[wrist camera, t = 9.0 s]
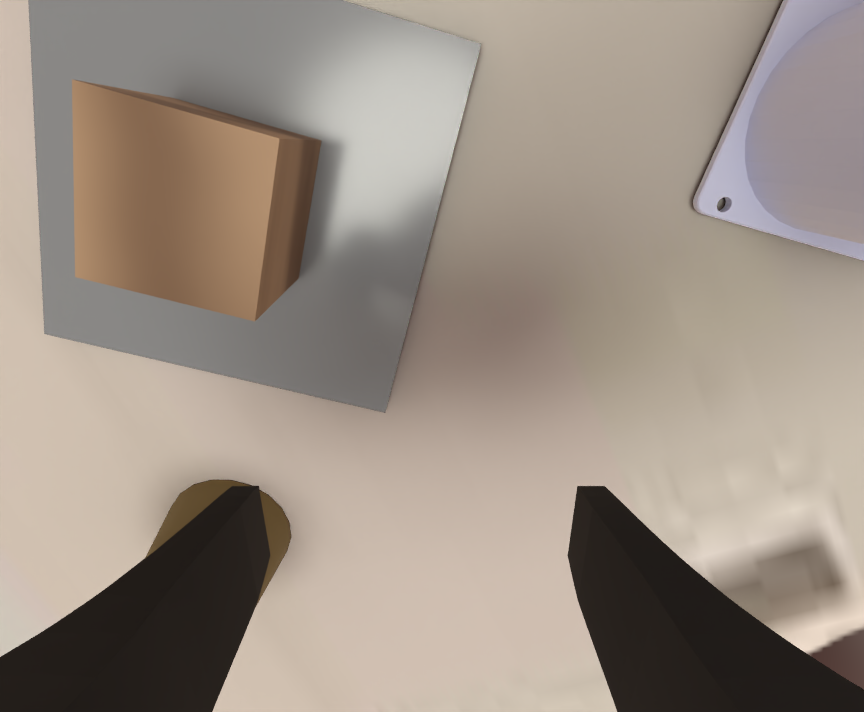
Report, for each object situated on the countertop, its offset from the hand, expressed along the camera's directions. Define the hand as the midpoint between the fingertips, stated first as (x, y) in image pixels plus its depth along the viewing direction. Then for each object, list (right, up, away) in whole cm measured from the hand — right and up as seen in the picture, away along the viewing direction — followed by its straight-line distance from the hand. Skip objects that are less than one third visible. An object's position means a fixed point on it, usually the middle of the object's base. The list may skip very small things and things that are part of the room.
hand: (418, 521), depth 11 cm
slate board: (-7, +10, +7) cm, 14 cm away
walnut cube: (-7, +10, +6) cm, 13 cm away
